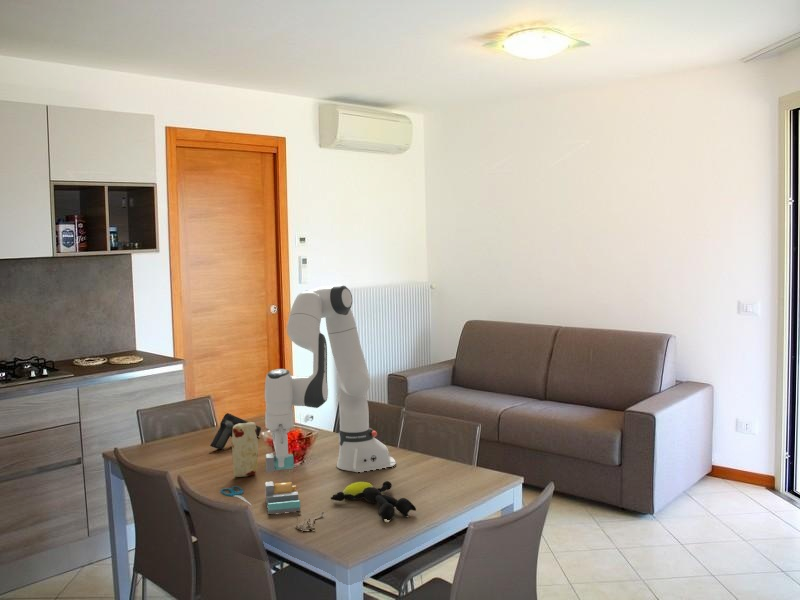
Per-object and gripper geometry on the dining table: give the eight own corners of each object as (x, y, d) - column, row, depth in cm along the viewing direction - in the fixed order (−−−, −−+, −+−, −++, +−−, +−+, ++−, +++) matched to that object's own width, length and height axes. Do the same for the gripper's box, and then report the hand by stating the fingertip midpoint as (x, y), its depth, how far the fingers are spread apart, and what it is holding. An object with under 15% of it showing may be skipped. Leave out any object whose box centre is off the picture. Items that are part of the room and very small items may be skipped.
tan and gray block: (291, 493, 238) (290, 479, 238) (292, 497, 234) (292, 483, 233) (265, 495, 236) (265, 482, 236) (266, 500, 232) (265, 486, 231)
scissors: (237, 485, 250) (261, 502, 233) (237, 488, 250) (261, 505, 233) (219, 489, 246) (242, 506, 229) (219, 492, 246) (242, 509, 230)
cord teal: (292, 466, 229) (292, 452, 229) (293, 470, 225) (293, 456, 225) (266, 468, 227) (265, 454, 227) (266, 472, 223) (266, 458, 223)
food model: (237, 480, 257) (235, 426, 255) (229, 476, 262) (227, 422, 260) (261, 475, 262) (260, 421, 261) (254, 470, 268) (252, 418, 266)
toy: (436, 510, 225) (381, 489, 249) (435, 491, 225) (380, 472, 248) (376, 529, 211) (324, 505, 235) (375, 509, 210) (323, 487, 234)
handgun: (251, 460, 311) (261, 427, 316) (213, 446, 293) (225, 411, 298) (247, 459, 313) (257, 426, 318) (209, 445, 294) (221, 411, 299)
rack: (296, 495, 240) (295, 485, 239) (300, 511, 225) (300, 501, 225) (266, 498, 237) (265, 488, 237) (268, 515, 223) (268, 504, 222)
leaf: (302, 536, 207) (302, 530, 207) (283, 519, 220) (283, 513, 220) (337, 528, 212) (337, 522, 212) (317, 512, 226) (317, 506, 225)
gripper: (292, 428, 216) (293, 473, 217) (287, 413, 236) (288, 454, 237) (271, 430, 214) (272, 474, 215) (267, 414, 234) (269, 455, 235)
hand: (280, 464), depth 226 cm, fingers closed on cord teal, 4 cm apart
